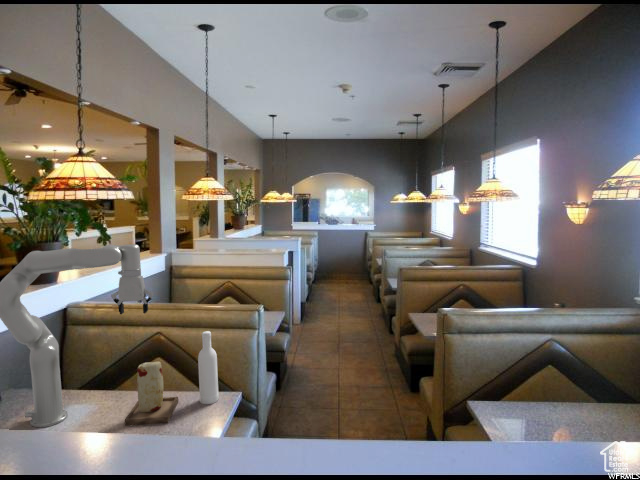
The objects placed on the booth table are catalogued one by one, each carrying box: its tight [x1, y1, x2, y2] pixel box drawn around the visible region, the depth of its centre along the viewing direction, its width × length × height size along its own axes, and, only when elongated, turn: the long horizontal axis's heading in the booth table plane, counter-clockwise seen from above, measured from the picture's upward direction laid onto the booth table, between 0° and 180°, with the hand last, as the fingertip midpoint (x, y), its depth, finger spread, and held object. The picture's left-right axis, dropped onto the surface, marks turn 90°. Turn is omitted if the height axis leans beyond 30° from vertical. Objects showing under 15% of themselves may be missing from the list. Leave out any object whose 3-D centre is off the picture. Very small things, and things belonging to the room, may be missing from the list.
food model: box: [136, 361, 164, 412], centre depth 177 cm, size 10×7×20 cm
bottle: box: [197, 330, 220, 405], centre depth 188 cm, size 8×8×30 cm
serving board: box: [124, 396, 179, 427], centre depth 178 cm, size 16×18×2 cm
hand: (133, 313), depth 188 cm, fingers open, 9 cm apart
